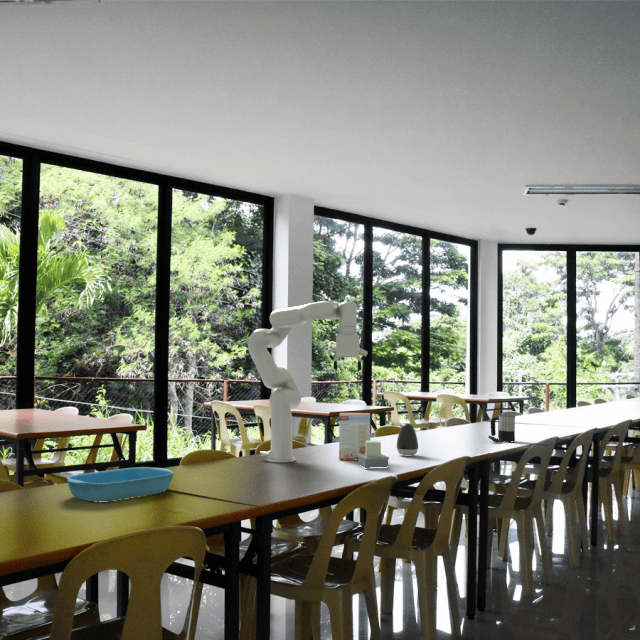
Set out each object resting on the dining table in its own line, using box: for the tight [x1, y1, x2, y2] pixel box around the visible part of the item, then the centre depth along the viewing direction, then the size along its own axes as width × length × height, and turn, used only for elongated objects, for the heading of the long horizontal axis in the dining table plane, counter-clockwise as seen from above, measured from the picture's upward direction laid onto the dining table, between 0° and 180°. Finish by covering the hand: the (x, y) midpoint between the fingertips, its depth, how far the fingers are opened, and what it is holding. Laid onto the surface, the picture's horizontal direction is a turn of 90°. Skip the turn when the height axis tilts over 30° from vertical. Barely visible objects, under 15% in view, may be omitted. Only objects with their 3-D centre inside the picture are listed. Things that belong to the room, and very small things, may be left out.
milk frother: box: [487, 413, 516, 443], centre depth 378 cm, size 14×16×15 cm
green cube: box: [365, 440, 382, 457], centre depth 289 cm, size 6×6×6 cm
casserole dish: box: [66, 466, 175, 502], centre depth 228 cm, size 37×22×7 cm, turn 141°
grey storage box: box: [357, 453, 390, 468], centre depth 289 cm, size 11×11×5 cm
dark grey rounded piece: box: [396, 423, 419, 456], centre depth 323 cm, size 10×10×15 cm
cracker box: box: [338, 412, 371, 460], centre depth 309 cm, size 14×6×21 cm, turn 84°
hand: (347, 371), depth 292 cm, fingers open, 9 cm apart
